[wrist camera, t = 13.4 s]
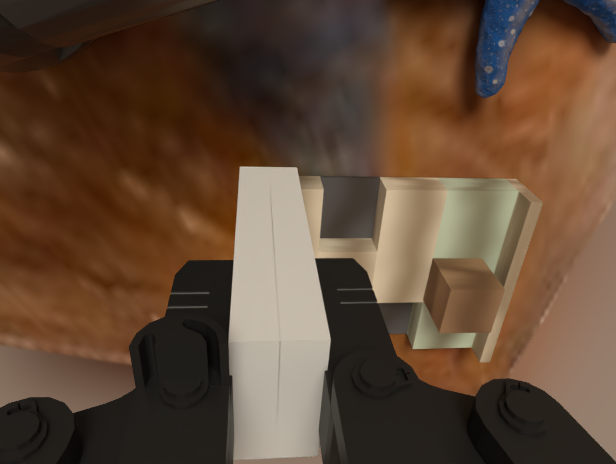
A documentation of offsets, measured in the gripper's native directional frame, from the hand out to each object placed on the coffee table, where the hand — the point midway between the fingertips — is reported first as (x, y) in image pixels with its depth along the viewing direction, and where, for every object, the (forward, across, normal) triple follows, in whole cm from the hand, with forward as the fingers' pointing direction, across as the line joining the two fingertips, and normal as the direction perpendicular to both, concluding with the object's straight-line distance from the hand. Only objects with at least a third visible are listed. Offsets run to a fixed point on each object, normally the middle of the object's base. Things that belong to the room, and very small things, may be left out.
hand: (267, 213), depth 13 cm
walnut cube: (+22, +17, -18) cm, 33 cm away
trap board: (+24, +10, -18) cm, 32 cm away
